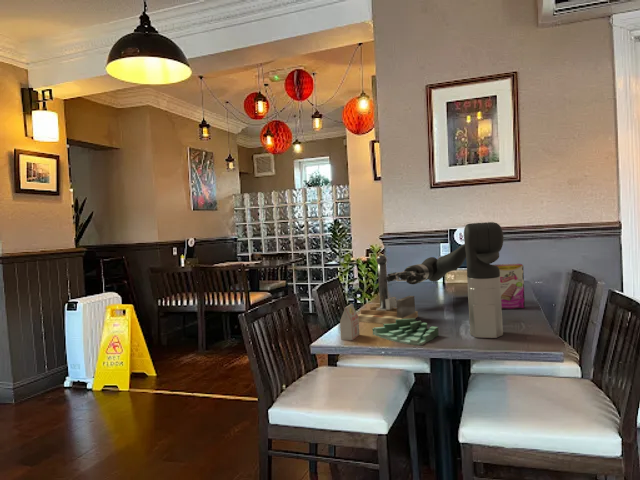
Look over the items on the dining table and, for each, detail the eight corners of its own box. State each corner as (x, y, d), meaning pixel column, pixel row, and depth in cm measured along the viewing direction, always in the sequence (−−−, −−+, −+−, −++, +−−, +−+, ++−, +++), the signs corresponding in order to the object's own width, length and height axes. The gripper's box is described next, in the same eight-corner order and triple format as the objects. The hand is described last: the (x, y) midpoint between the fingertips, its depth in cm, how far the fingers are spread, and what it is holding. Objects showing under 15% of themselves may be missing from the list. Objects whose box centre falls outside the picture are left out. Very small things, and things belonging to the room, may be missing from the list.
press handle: (376, 314, 170) (372, 255, 169) (383, 311, 174) (379, 254, 173) (390, 315, 166) (386, 255, 166) (396, 312, 170) (393, 254, 169)
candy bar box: (494, 309, 174) (492, 265, 173) (491, 307, 179) (488, 264, 178) (526, 308, 173) (523, 264, 172) (521, 305, 178) (519, 262, 177)
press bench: (355, 321, 170) (354, 299, 170) (375, 313, 181) (373, 293, 181) (400, 325, 159) (398, 301, 159) (417, 316, 170) (416, 295, 170)
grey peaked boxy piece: (341, 339, 145) (339, 307, 144) (348, 334, 151) (346, 303, 150) (352, 340, 143) (350, 307, 143) (359, 334, 149) (357, 303, 149)
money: (444, 334, 145) (443, 318, 144) (421, 347, 132) (420, 330, 132) (387, 328, 157) (386, 314, 157) (361, 340, 144) (360, 324, 144)
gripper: (400, 264, 196) (381, 269, 183) (432, 264, 187) (414, 269, 174) (401, 282, 196) (382, 288, 183) (433, 283, 188) (415, 289, 175)
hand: (397, 279), depth 179 cm, fingers open, 8 cm apart
